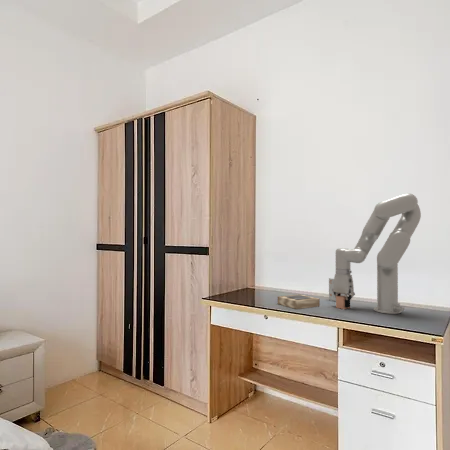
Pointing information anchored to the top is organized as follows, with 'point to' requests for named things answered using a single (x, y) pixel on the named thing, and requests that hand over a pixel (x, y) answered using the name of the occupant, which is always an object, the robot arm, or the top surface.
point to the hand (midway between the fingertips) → (343, 305)
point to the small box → (331, 294)
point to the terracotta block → (341, 302)
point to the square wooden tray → (298, 301)
